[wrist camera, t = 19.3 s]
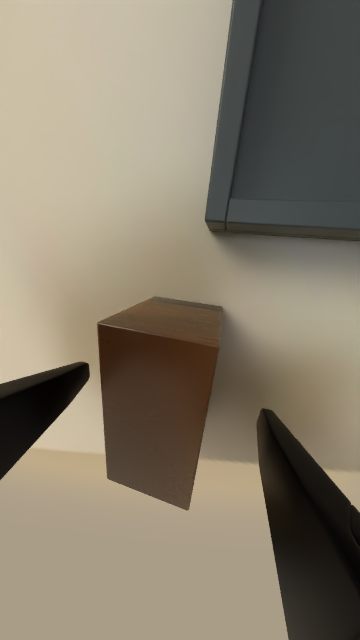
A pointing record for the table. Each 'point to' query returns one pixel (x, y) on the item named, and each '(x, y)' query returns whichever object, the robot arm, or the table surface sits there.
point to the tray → (289, 121)
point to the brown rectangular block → (157, 393)
